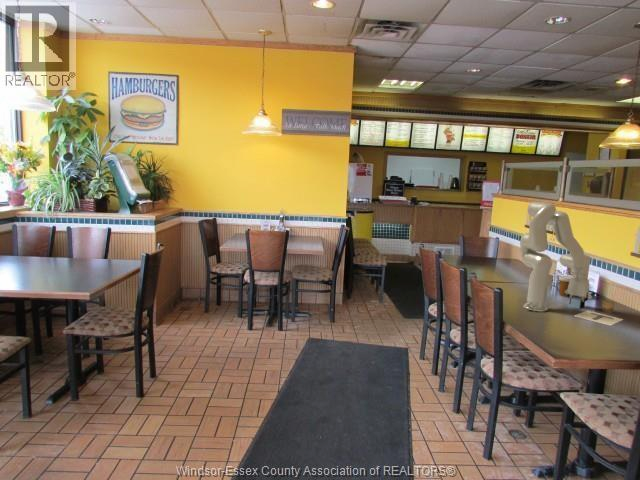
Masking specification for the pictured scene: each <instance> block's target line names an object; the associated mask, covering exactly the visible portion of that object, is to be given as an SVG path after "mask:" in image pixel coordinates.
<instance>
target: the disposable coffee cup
mask: <svg viewBox="0 0 640 480" xmlns="http://www.w3.org/2000/svg"><path fill="white" fill-rule="evenodd" d="M571 277H572V275H571V276H570V275H559V277H558V280H559V284H558V285H559V287H558V289H559V296H561V297H565V298H569V297H568V296H567V294H566V293H565V291H566V290H567V289H568V286H569V282H570V279H571Z"/></svg>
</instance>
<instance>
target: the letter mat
mask: <svg viewBox="0 0 640 480" xmlns="http://www.w3.org/2000/svg"><path fill="white" fill-rule="evenodd" d="M573 317H575V318H580V319H583V320H587V321H591V322H596V323H598V324H603V325H606V326H613V325H615V324H616V323H620V322H621V321H623V320H624V319H623V318H621V317H620V318H619V317H615V316H611V315H607V314H603V313H599V312H596V311H591V310H585V311H582V312H580V313H577V314H575V315H573Z"/></svg>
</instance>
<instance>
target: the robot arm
mask: <svg viewBox="0 0 640 480" xmlns="http://www.w3.org/2000/svg"><path fill="white" fill-rule="evenodd" d="M527 212H528V214H529V216H531V217H532V218H531V220H530V222H529V225H528V227H529V228H528V230H529V232H525V233H524V234H523V235H522V236H521V238H520V242H519V247H520V255H521V262H522V264H523V265H525V266H526V267H528V268H530V269H532V271H531V272H530V275H529V280H528V289H527V297H526V303H524V304H523V308H525V309H526V310H530V311H532V312H533V311H534V312H547V311H549V308H548V307H547V306H546V304H547V301H546V300H547V293H548V285H549V276H550V274H551V273H550V272H551V269H552V268H553V267H552V266H553V260H552V258H551V256H549V255H547V254H545V253H542V252H545V251H546V250H547V249H548V245H549V244H548V234H547V233H548V232H547V226H548V225H549V226H552V228H553V231H554V235H555V239H556V241H557V242H558V243H559V244H560V245H561V246H563V247H564V248H565V249H566V250H568V252H569V253H565V254H562V255H561V256H560V257H559V263H560V265H561V266H563V267H565V268H569V269H572V270H573V272H570V275H571V279H570V282H569V286H568V289H567V290H566V291H565V293H566V294H567V296H568V297H567V298H568V300H569V305H570V303H571V298H575V296H576V297H578V298H580V299H582V302H581V305H580V308H579V309H584V308H585V306H586V302H588V300H590V299H593V296H592V294H591V293H590V280H589V272H590V265H591V264H590V263H591V256H590V255H587V254H585V251H584V249H583V247H582V246H581V245H580V243H579V242H578V240H577V238H575V236H574V233H573V229H572V225H571V222H570V217H569V215H568V213H566V212H565V211H561V210H557V209H556V206H555V204H554V203H552V202H551V203H550V202H545V201H532V202H530V203H529V205H528V206H527Z"/></svg>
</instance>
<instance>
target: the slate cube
mask: <svg viewBox="0 0 640 480" xmlns="http://www.w3.org/2000/svg"><path fill="white" fill-rule="evenodd" d="M581 302H582V298H581V297H573V298H571V303H570V304H569V306H570V307H573V308H577V309H581V308H580V305H581Z"/></svg>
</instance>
